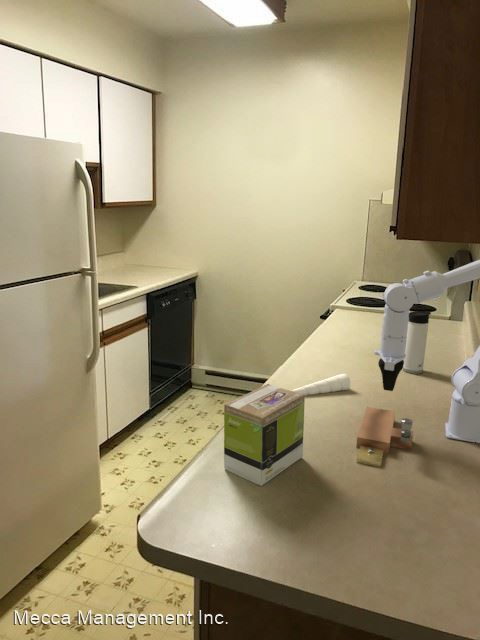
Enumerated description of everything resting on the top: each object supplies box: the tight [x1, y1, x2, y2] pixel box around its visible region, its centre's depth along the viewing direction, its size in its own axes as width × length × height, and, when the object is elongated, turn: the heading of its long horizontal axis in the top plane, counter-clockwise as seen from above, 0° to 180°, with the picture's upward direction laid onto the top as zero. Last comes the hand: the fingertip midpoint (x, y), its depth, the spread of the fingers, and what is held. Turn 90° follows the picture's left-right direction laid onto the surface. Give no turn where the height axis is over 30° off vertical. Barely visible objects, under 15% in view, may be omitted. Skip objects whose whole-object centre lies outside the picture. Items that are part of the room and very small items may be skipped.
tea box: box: [223, 383, 306, 487], centre depth 103 cm, size 15×10×15 cm, turn 141°
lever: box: [400, 417, 413, 442], centre depth 110 cm, size 10×2×2 cm, turn 160°
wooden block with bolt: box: [356, 445, 385, 468], centre depth 108 cm, size 5×6×2 cm
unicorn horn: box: [291, 373, 352, 396], centre depth 143 cm, size 5×24×5 cm, turn 110°
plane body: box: [355, 406, 414, 454], centre depth 118 cm, size 12×18×4 cm, turn 159°
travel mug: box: [402, 310, 432, 375], centre depth 161 cm, size 6×7×20 cm
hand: (388, 389), depth 120 cm, fingers closed
